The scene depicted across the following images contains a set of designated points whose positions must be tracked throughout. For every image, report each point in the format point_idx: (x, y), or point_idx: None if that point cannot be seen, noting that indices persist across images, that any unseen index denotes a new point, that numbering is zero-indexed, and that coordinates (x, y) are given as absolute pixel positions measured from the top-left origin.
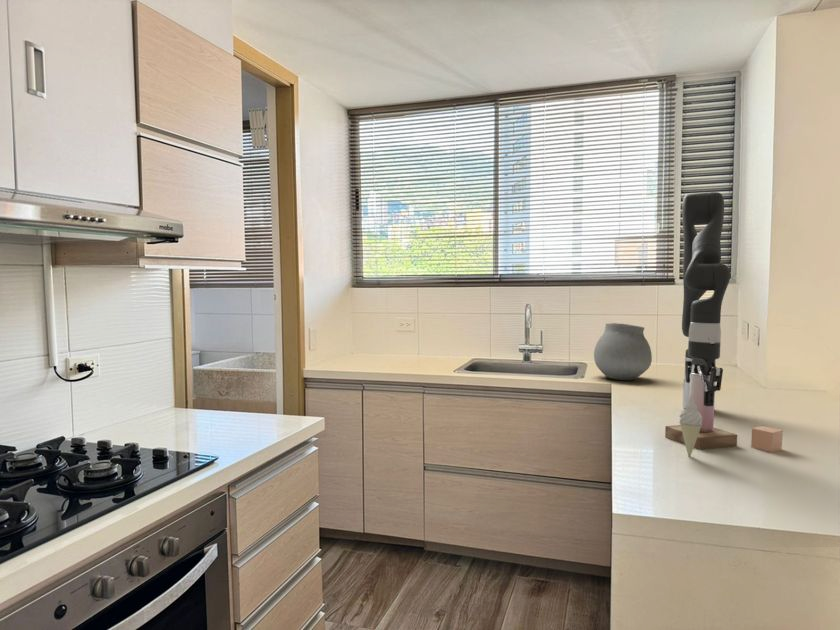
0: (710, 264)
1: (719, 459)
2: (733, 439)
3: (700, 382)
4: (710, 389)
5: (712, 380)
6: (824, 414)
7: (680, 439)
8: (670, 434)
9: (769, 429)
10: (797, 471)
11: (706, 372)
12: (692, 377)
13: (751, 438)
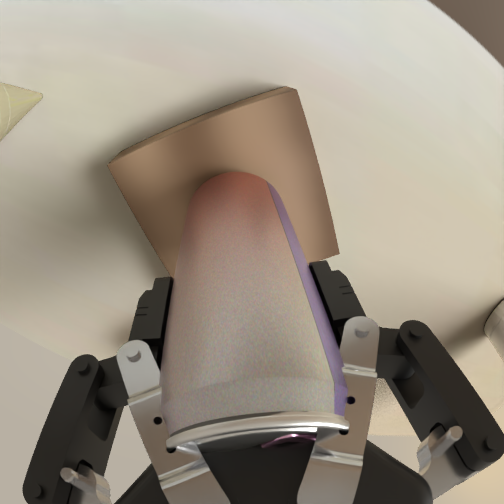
0: None
1: (35, 177)
2: None
3: (166, 379)
4: (80, 361)
5: (47, 418)
6: (403, 431)
7: (205, 115)
8: (260, 96)
9: None
10: (23, 304)
11: (139, 480)
12: (238, 384)
13: None
